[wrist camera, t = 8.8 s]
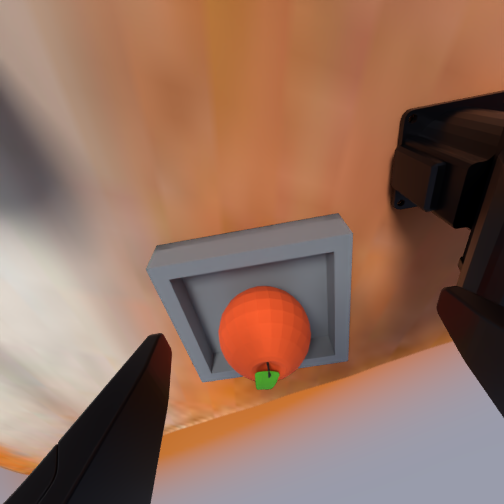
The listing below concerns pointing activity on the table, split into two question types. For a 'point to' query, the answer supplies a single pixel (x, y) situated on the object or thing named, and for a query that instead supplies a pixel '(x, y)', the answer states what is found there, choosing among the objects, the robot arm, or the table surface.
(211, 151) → the table surface
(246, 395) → the table surface
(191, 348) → the tray
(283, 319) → the clementine
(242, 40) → the table surface
